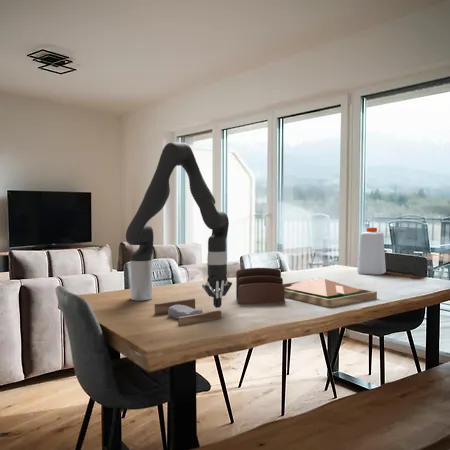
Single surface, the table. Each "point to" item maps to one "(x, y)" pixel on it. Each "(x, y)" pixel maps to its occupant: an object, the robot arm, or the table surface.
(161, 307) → the pair of wooden bars
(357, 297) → the wooden picture frame
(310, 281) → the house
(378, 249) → the plastic bottle
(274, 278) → the letter holder
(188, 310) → the stone block
